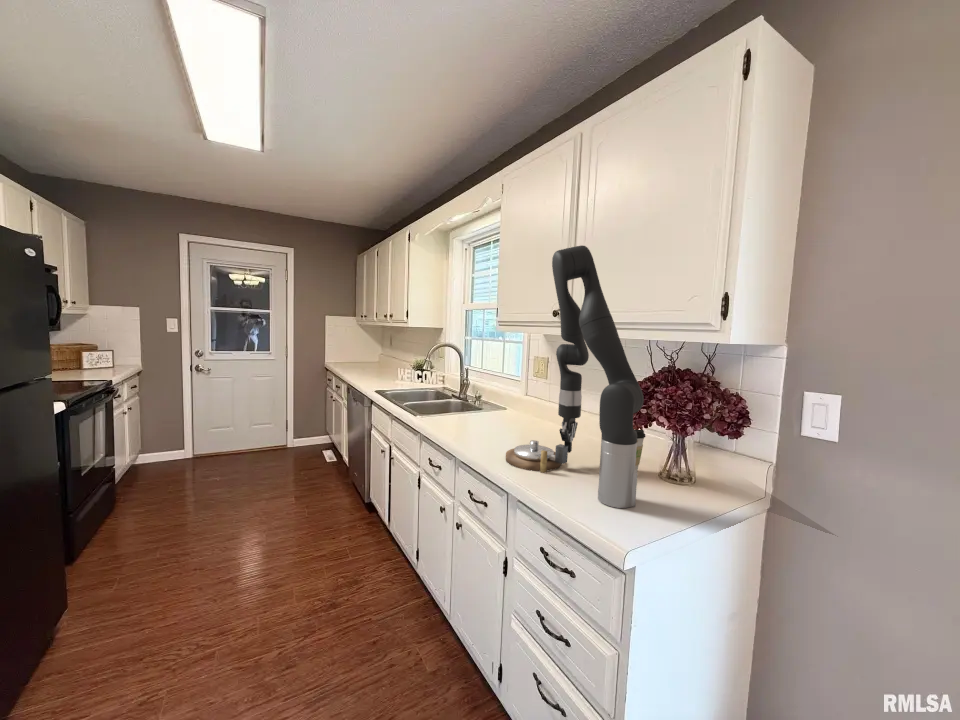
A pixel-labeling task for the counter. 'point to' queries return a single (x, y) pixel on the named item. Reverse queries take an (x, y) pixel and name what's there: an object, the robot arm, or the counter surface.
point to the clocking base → (532, 462)
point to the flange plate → (535, 449)
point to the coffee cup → (639, 446)
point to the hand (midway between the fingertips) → (567, 451)
